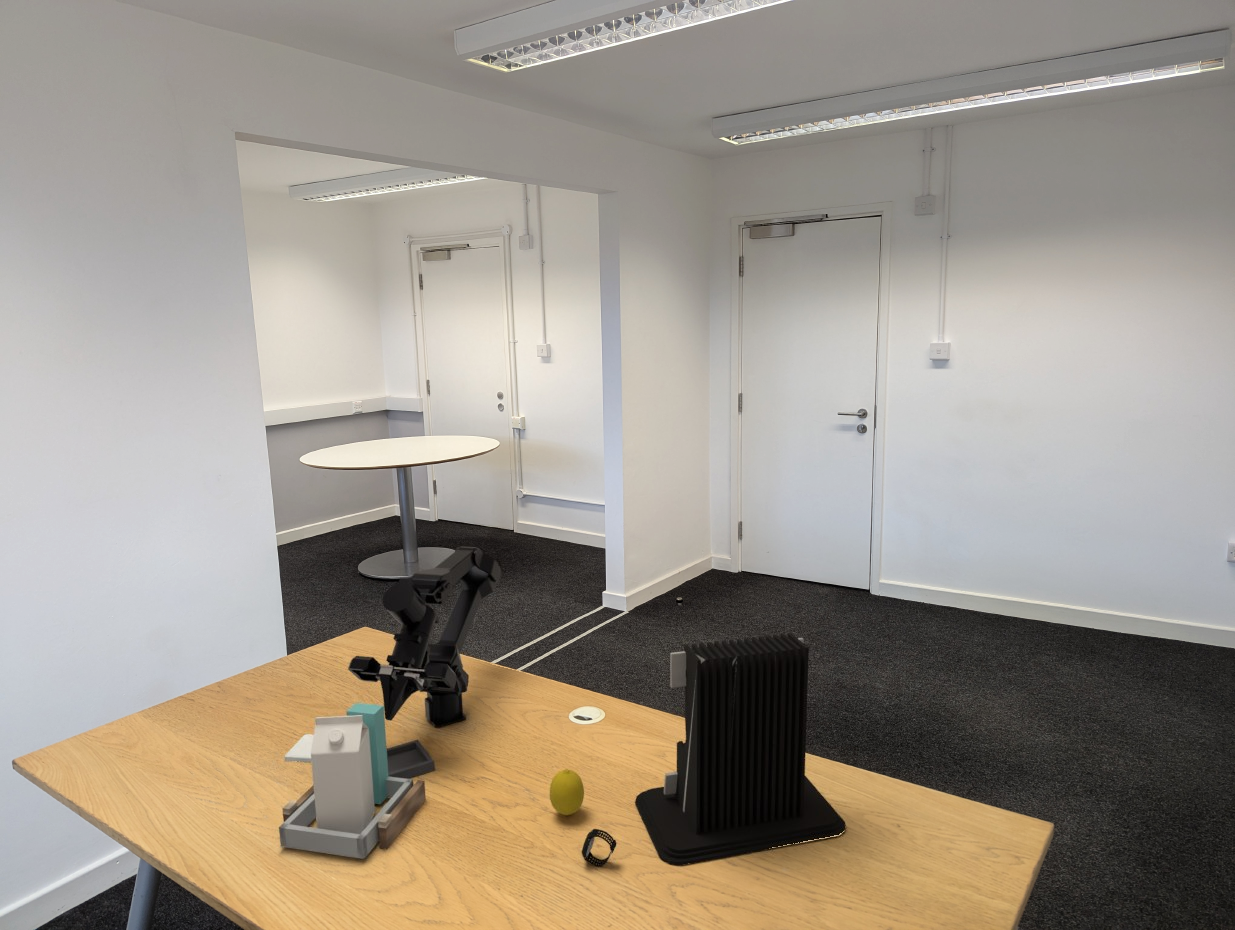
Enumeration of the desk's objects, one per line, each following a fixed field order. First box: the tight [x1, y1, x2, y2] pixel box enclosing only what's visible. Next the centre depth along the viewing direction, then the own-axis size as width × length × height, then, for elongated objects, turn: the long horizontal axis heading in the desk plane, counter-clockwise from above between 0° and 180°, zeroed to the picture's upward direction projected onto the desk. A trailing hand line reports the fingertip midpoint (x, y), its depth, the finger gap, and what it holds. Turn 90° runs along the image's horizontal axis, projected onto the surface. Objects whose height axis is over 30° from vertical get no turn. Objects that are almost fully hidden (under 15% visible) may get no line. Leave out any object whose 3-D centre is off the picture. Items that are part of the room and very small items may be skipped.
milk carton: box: [310, 715, 376, 834], centre depth 126 cm, size 7×7×19 cm
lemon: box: [549, 768, 585, 817], centre depth 129 cm, size 6×6×8 cm
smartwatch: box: [581, 828, 617, 868], centre depth 118 cm, size 4×5×5 cm
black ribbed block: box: [634, 632, 847, 866], centre depth 127 cm, size 30×19×30 cm, turn 104°
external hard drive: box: [284, 733, 314, 763], centre depth 150 cm, size 2×8×12 cm
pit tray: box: [387, 739, 436, 779], centre depth 145 cm, size 9×9×2 cm
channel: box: [282, 779, 427, 850], centre depth 130 cm, size 13×18×4 cm
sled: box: [278, 702, 414, 860], centre depth 127 cm, size 16×14×16 cm
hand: (388, 719), depth 139 cm, fingers closed
